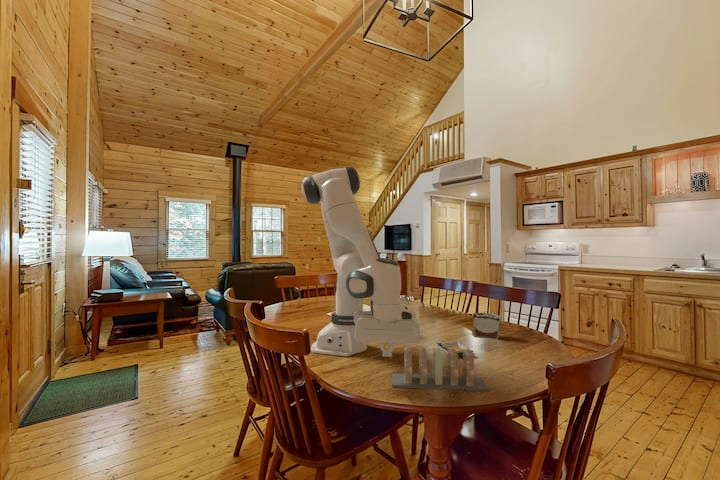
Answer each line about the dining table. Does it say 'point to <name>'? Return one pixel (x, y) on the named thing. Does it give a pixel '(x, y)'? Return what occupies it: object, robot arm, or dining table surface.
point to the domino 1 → (408, 365)
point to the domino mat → (399, 381)
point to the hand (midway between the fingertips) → (387, 356)
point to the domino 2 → (423, 366)
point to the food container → (486, 325)
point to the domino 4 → (468, 367)
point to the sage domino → (437, 366)
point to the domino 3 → (453, 366)
